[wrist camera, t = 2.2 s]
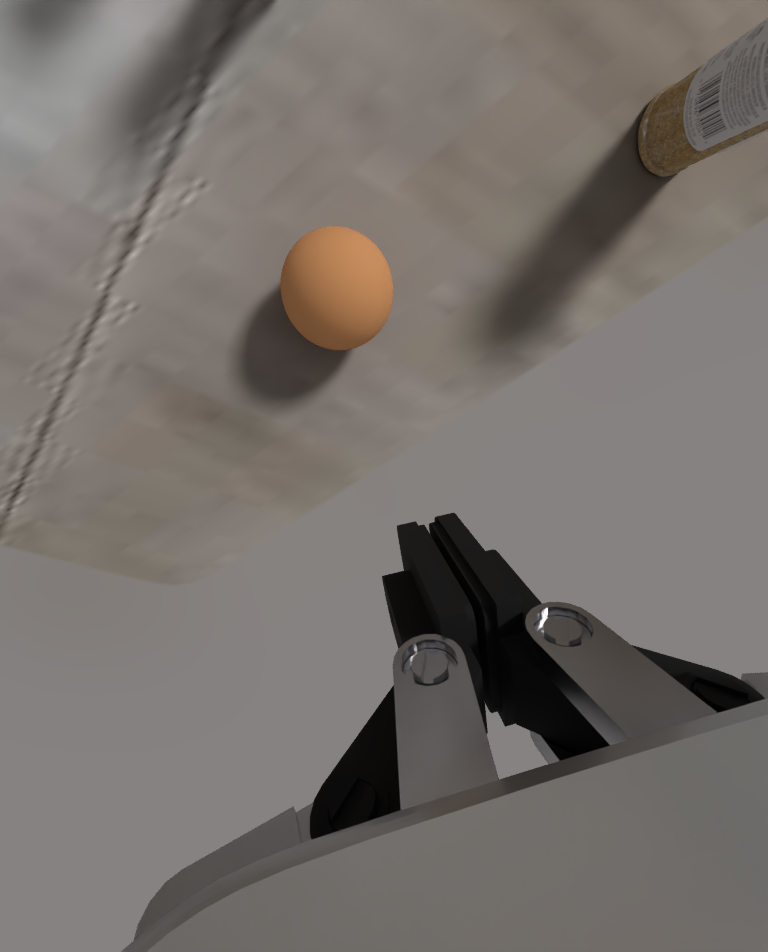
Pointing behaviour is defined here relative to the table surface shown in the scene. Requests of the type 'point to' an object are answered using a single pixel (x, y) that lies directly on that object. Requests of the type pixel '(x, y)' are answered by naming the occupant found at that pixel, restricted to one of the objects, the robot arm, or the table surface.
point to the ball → (336, 288)
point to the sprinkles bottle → (709, 107)
